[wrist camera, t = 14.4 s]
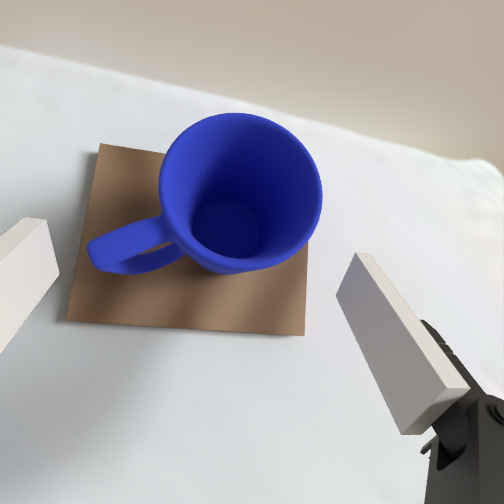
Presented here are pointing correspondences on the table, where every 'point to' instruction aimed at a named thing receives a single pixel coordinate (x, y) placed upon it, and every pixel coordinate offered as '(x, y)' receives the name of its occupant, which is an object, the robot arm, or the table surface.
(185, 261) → the walnut board
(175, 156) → the mug
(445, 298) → the table surface
